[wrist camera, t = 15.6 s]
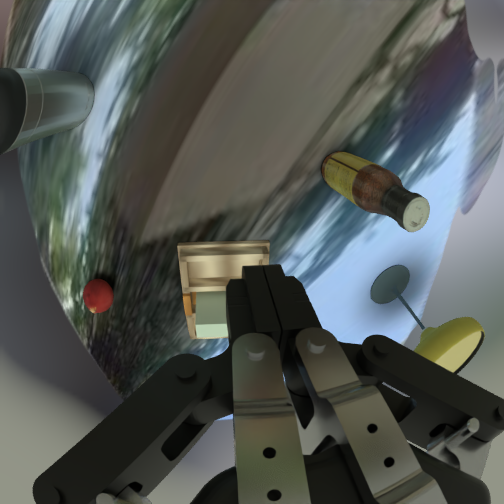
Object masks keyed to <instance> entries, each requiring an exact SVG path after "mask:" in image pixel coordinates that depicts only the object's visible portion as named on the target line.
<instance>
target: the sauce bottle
mask: <svg viewBox="0 0 504 504" xmlns="http://www.w3.org/2000/svg"><path fill="white" fill-rule="evenodd" d="M322 176H323V178H324V180H325V181H326V183H327V184H328V185H329V186H330V187H332V188H333V189H334V190H336V191H337V192H339V193H340V194H342V195H343V196H345V197H346V198H347V199H349V200H350V201H352V202H353V203H354V204H356V205H357V206H359V207H360V208H361V209H363V210H365V211H367V212H371V213H377V214H382V215H387V216H389V217H391V218H393V219H394V220H395V221H397V222H398V224H399V225H400V227H402V228H403V229H405V230H407V231H408V232H415V231H418V230H420V229H421V228H422V227H423V226H424V225H425V224H426V222H427V220H428V217H429V211H430V206H429V203H428V201H427V200H426V199H425V198H424V197H423V196H421V195H419V194H418V193H412V192H410V191H408V190H406V189H405V188H404V187H403V185H402V183H401V180H400V179H399V177H398V176H396V175H395V174H394V173H392V172H391V171H389V170H387V169H385V168H383V167H381V166H379V165H377V164H375V163H372V162H370V161H368V160H365V159H363V158H360V157H357V156H355V155H352V154H350V153H346V152H340V151H338V152H334V153H333V154H330V155H329V156H327V157H326V159H325V160H324V162H323V166H322Z"/></svg>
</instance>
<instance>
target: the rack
mask: <svg viewBox="0 0 504 504" xmlns="http://www.w3.org/2000/svg"><path fill="white" fill-rule="evenodd" d="M269 246H270V243H269V240H258V241H220V242H187V243H178V256H179V265H180V274H181V282H182V290H183V301H184V308H185V315H186V318H187V325H188V331H189V333H190V339H212V338H228V337H203V338H197V334H196V326H195V319H196V292H205V291H226V286H227V284H228V282H229V280H230V279H241V278H242V266H250V265H261V266H262V265H268V263H269Z"/></svg>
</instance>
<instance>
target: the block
mask: <svg viewBox="0 0 504 504" xmlns="http://www.w3.org/2000/svg"><path fill="white" fill-rule="evenodd" d="M195 326H196V334H197V338H203V337H228V330H227V321H226V291H205V292H196V319H195Z"/></svg>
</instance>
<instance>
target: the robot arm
mask: <svg viewBox="0 0 504 504" xmlns="http://www.w3.org/2000/svg"><path fill="white" fill-rule="evenodd" d="M93 102H94V89H93V86H92V83H91V82H90V80H89V79H88V78H87V77H86V76H85V75H83V74H81V73H76V72H68V71H59V70H48V69H32V68H0V155H1V154H3V153H5V152H7V151H10V150H12V149H15V148H17V147H19V146H22V145H24V144H27V143H30V142H32V141H35V140H38V139H41V138H44V137H47V136H50V135H53V134H56V133H60V132H63V131H66V130H70V129H73V128H75V127H77V126H78V125H80V124H81V123H82V122H83V121H84V120H85V119H86V118H87V116H88V115H89V113H90V111H91V108H92V105H93ZM226 321H227V330H228V339H229V347H228V348H227V349H226V350H225V351H224V352H223V353H222V354H220V355H218V356H216V357H213V358H210V359H207V360H204V359H203V358H201V357H199V356H197V355H194V354H180V355H176V356H174V357H172V358H170V359H169V360H168V361H167V362H166V363H165V364H164V365H163V366H161V367H160V368H159V369H158V370H157V371H156V372H155V373H154V374H153V375H152V376H151V377H150V378H149V379H148V380H146V381H145V382H144V383H143V384H142V385H141V386H140V387H139V388H138V389H137V390H136V391H135V392H134V393H132V394H131V395H130V396H129V397H128V398H127V399H126V400H125V401H124V402H123V403H122V404H120V405H119V406H118V407H117V408H116V409H115V410H114V411H113V412H112V413H111V414H110V415H108V416H107V417H106V418H105V419H104V420H103V421H102V422H101V423H99V424H98V425H97V426H96V427H95V428H94V429H93V430H92V431H90V433H88V434H87V435H86V436H85V437H84V438H83V439H82V440H80V441H79V442H78V443H77V444H76V445H75V446H74V447H72V448H71V449H70V450H69V451H68V452H67V453H66V454H64V455H63V456H62V457H61V458H60V459H59V460H57V461H56V462H55V463H54V464H53V465H52V466H50V467H49V468H48V469H47V470H46V471H45V472H43V473H42V474H41V475H40V476H39V477H38V478H37V479H36V480H35V482H34V485H33V496H34V500H35V502H36V504H152V503H151V501H150V500H149V499H148V498H147V495H149V493H150V492H152V490H153V489H154V488H155V487H156V486H157V485H158V484H159V483H160V482H161V481H162V480H163V479H164V478H165V477H166V476H167V475H168V474H169V473H170V472H171V471H172V469H173V468H174V467H175V466H176V465H177V464H178V463H179V462H180V461H181V460H182V458H183V457H184V456H185V455H186V454H187V453H188V452H189V451H190V449H191V448H192V447H193V446H194V445H195V444H196V443H197V441H198V440H199V439H200V438H201V436H202V435H203V434H204V433H205V432H206V431H207V430H208V428H209V427H210V426H211V425H212V424H213V422H214V420H217V419H220V418H222V417H225V416H228V415H230V414H233V428H234V429H233V430H234V456H235V466H234V467H231V468H229V469H227V470H225V471H223V472H221V473H220V474H218V475H216V476H215V477H214V478H212V479H211V480H210V481H209V482H208V483H207V484H206V485H205V486H204V487H203V488H202V489H201V491H200V492H199V493H198V494H197V495H196V497H195V498H194V499H193V500H192V502H191V503H190V504H491V500H490V493H489V490H488V488H487V486H486V485H485V483H484V482H483V481H481V480H480V479H481V476H482V473H483V470H484V467H485V463H486V460H487V457H488V453H489V449H490V446H491V442H492V440H493V439H494V438H495V437H496V436H498V435H499V434H500V433H502V432H503V431H504V399H502V398H500V397H498V396H496V395H494V394H493V393H491V392H489V391H487V390H485V389H483V388H481V387H479V386H477V385H476V384H473V383H472V382H470V381H468V380H466V379H464V378H462V377H460V376H459V375H457V374H455V373H453V372H451V371H449V370H447V369H445V368H444V367H442V366H440V365H438V364H436V363H434V362H432V361H431V360H429V359H427V358H425V357H423V356H421V355H419V354H418V353H416V352H414V351H412V350H410V349H408V348H406V347H405V346H403V345H401V344H399V343H397V342H395V341H394V340H392V339H390V338H388V337H386V336H383V335H371V336H369V337H367V338H366V339H365V340H364V341H363V343H362V345H361V344H351V343H343V342H339V341H337V339H336V338H335V336H334V335H333V334H332V333H330V332H329V331H327V330H325V329H323V328H322V326H321V324H320V322H319V320H318V317H317V315H316V313H315V311H314V309H313V306H312V304H311V302H309V298H308V296H307V294H306V291H305V289H304V287H303V285H302V283H301V282H300V281H298V280H297V279H296V278H295V277H294V276H285V274H284V272H283V269H282V267H281V265H280V264H275V265H262V266H261V265H250V266H242V278H241V279H230V280H229V282H228V284H227V286H226ZM283 374H284V377H285V382H284V377H283ZM383 382H385V383H386V384H388V385H390V386H392V387H393V388H395V389H397V390H399V391H401V392H403V393H405V394H407V395H408V396H410V397H405V396H403V395H401V394H399V393H398V392H396V391H394V390H392V389H390V388H389V387H387V386H385V385H383V384H382V383H383ZM406 439H407V440H409V441H410V442H412V443H414V444H416V445H418V446H420V447H422V448H424V449H426V450H427V452H424V451H422V450H421V449H419V448H417V447H415V446H413V445H412V444H410V443H408V442H407V440H406Z"/></svg>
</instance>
